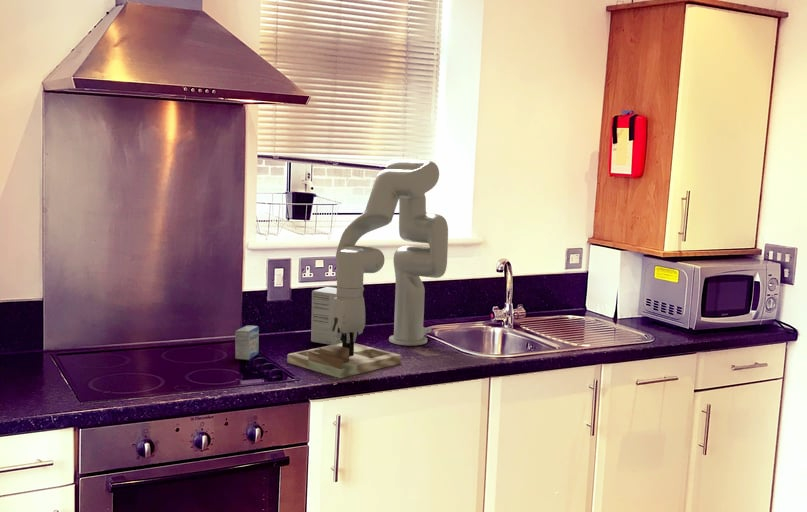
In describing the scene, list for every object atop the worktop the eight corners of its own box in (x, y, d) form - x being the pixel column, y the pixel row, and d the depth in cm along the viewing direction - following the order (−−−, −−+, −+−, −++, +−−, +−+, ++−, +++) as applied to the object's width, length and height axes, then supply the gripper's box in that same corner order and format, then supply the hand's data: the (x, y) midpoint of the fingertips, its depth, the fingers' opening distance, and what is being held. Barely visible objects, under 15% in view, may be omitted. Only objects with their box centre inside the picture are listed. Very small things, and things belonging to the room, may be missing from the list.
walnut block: (333, 358, 254) (334, 344, 254) (348, 362, 250) (349, 348, 250) (318, 361, 250) (319, 348, 249) (334, 365, 246) (334, 351, 245)
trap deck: (348, 349, 276) (348, 333, 275) (400, 363, 261) (401, 346, 261) (287, 362, 257) (287, 345, 257) (340, 378, 243) (340, 360, 242)
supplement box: (325, 336, 293) (327, 286, 290) (349, 340, 288) (351, 289, 286) (309, 341, 284) (311, 290, 282) (334, 345, 280) (335, 293, 278)
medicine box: (249, 360, 258) (249, 331, 257) (234, 359, 259) (235, 330, 258) (258, 354, 266) (259, 326, 265) (244, 352, 267) (245, 324, 266)
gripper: (358, 288, 260) (356, 349, 262) (321, 293, 249) (319, 357, 251) (377, 291, 255) (375, 353, 257) (339, 297, 244) (338, 362, 246)
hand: (347, 355), depth 254 cm, fingers closed
